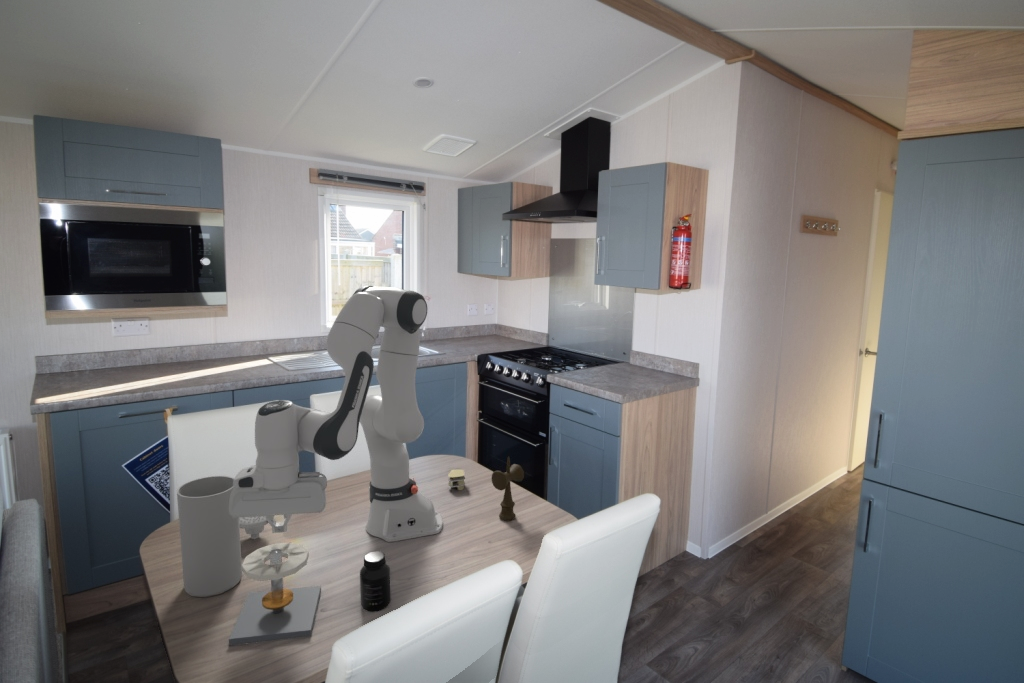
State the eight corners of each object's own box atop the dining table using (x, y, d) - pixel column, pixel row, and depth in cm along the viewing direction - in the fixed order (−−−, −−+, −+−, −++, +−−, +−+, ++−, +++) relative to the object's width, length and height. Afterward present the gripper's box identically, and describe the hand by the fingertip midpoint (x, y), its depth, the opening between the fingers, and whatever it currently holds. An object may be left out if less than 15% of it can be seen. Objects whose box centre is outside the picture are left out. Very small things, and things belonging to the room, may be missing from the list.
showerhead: (248, 503, 161) (278, 507, 159) (249, 527, 162) (280, 531, 160) (225, 518, 152) (257, 522, 150) (227, 543, 153) (259, 547, 151)
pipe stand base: (321, 591, 132) (320, 585, 131) (310, 636, 116) (310, 629, 116) (249, 598, 128) (249, 592, 128) (229, 645, 113) (228, 639, 113)
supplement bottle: (363, 595, 131) (362, 548, 129) (392, 594, 131) (392, 547, 129) (357, 613, 124) (356, 564, 122) (388, 612, 124) (387, 563, 123)
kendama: (489, 520, 169) (490, 458, 166) (510, 509, 176) (511, 450, 173) (504, 526, 165) (505, 463, 162) (524, 515, 173) (526, 455, 170)
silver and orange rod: (296, 600, 126) (293, 543, 124) (290, 618, 120) (288, 558, 118) (266, 603, 125) (263, 545, 122) (259, 621, 118) (256, 561, 116)
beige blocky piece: (443, 482, 197) (443, 468, 197) (468, 482, 198) (468, 467, 197) (443, 494, 188) (443, 479, 187) (469, 494, 188) (469, 478, 188)
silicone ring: (311, 545, 128) (311, 540, 128) (302, 577, 115) (302, 571, 115) (251, 550, 125) (251, 545, 125) (235, 583, 113) (235, 578, 113)
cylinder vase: (180, 603, 126) (172, 501, 122) (188, 574, 137) (181, 480, 133) (241, 591, 131) (235, 492, 127) (243, 564, 142) (238, 473, 138)
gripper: (328, 466, 128) (329, 522, 130) (233, 470, 124) (236, 528, 126) (324, 476, 122) (325, 535, 124) (224, 481, 118) (227, 541, 120)
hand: (279, 531), depth 125 cm, fingers closed
